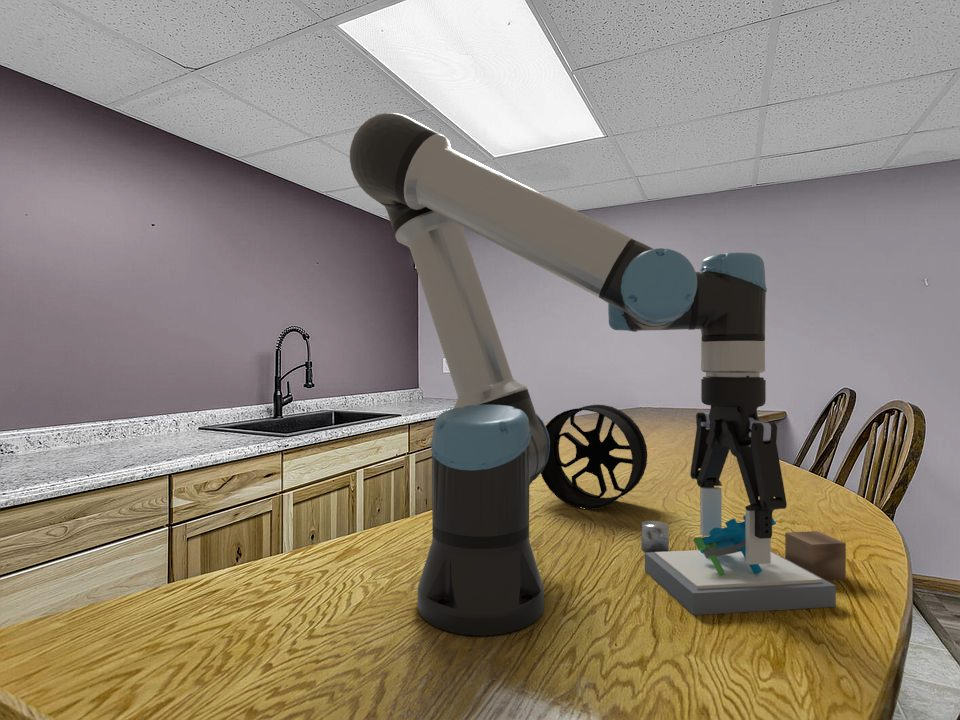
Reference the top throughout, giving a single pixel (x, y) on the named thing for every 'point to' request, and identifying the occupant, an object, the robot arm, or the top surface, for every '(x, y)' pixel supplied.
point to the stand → (737, 583)
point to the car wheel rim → (593, 457)
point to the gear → (726, 543)
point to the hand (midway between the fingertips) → (732, 547)
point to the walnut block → (817, 554)
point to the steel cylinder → (654, 536)
